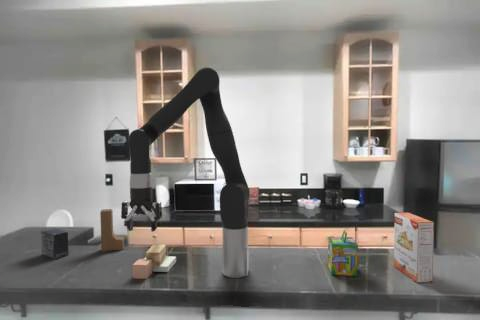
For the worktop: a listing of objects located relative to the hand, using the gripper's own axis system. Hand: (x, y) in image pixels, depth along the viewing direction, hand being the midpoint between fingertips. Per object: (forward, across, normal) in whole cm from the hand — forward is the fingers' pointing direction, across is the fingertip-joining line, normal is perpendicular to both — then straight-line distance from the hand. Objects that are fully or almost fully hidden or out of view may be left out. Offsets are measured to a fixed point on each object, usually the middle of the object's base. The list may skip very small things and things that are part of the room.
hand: (142, 230), depth 108 cm
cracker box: (+16, -96, -10) cm, 98 cm away
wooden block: (+17, +25, -24) cm, 39 cm away
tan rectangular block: (+14, -2, -8) cm, 16 cm away
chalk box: (+16, -72, -10) cm, 75 cm away
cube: (+16, 0, 0) cm, 16 cm away
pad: (+16, -2, -8) cm, 18 cm away
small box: (+17, +46, -15) cm, 51 cm away
